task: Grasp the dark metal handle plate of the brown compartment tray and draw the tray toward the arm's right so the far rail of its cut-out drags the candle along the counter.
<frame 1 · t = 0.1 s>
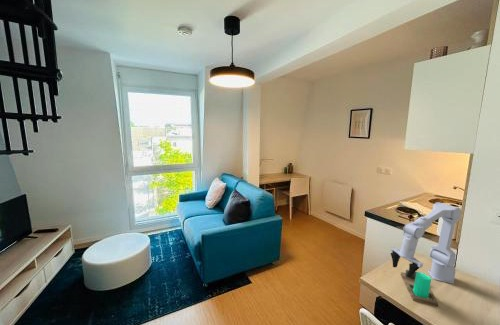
hand: (401, 271, 108), 11 cm above the table, tool pointing down, fingers open, 7 cm apart
candle: (420, 294, 107), resting in brown compartment tray
brown compartment tray: (418, 284, 110), point 2 cm above the table, slide at 0.0 cm
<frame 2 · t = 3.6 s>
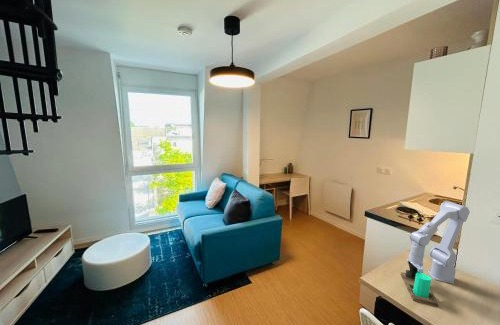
hand: (413, 275, 117), 3 cm above the table, tool pointing down, fingers closed on brown compartment tray, 2 cm apart
brown compartment tray: (418, 284, 110), point 2 cm above the table, slide at 0.0 cm, touching gripper
everything else where it was.
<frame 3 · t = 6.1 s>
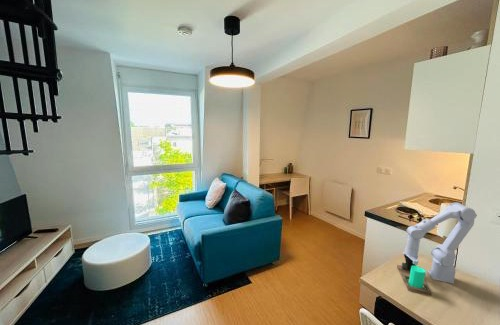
hand: (409, 268, 123), 3 cm above the table, tool pointing down, fingers closed on brown compartment tray
candle: (415, 286, 112), resting in brown compartment tray
brown compartment tray: (413, 276, 117), point 2 cm above the table, slide at 7.0 cm, touching gripper
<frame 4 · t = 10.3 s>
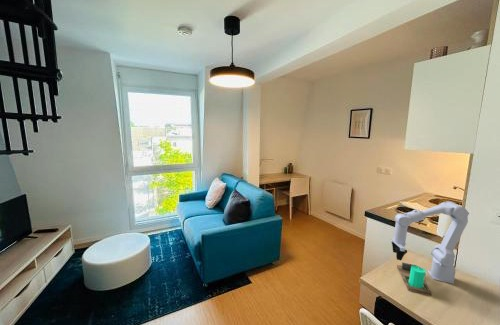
hand: (397, 255, 123), 9 cm above the table, tool pointing down, fingers open, 7 cm apart
brown compartment tray: (413, 276, 117), point 2 cm above the table, slide at 7.0 cm
everything else where it was.
at the end: brown compartment tray slide at 7.0 cm; candle moved 5.9 cm from its start; candle tilted 0° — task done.
